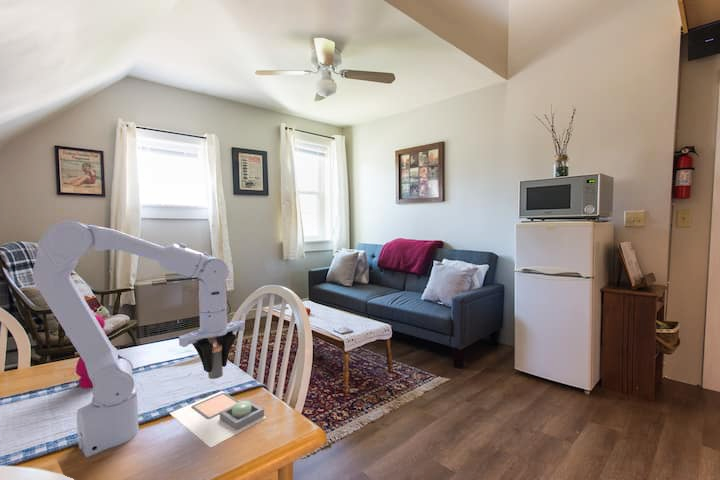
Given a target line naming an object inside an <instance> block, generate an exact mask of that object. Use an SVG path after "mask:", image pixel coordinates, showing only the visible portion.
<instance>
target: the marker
mask: <svg viewBox="0 0 720 480" xmlns="http://www.w3.org/2000/svg"><path fill="white" fill-rule="evenodd" d="M212 344H213V348H212V355H211V363H212V370H211V372H207V373H208V378H209V379H210V380H216V379H219V378H221V377H223V375H224V374H223V371H224V370H223V369H224V367H223V366H222V344H219V343H217V342H216V343H212Z"/></svg>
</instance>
